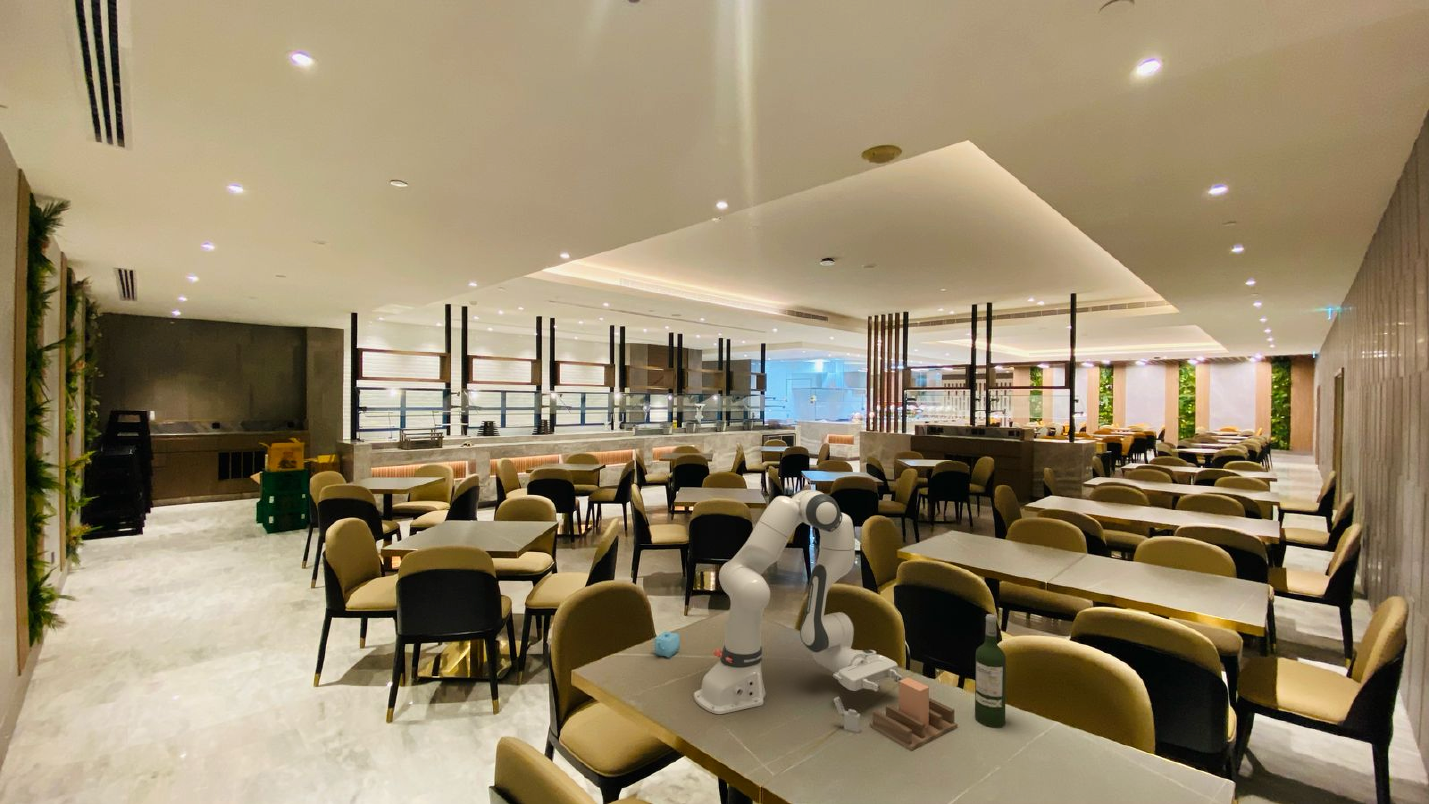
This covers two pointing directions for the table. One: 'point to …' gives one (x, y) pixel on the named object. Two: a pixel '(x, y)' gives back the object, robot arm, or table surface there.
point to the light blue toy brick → (667, 644)
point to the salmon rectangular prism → (914, 700)
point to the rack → (914, 725)
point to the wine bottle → (990, 679)
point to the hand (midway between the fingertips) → (889, 683)
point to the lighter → (848, 716)
